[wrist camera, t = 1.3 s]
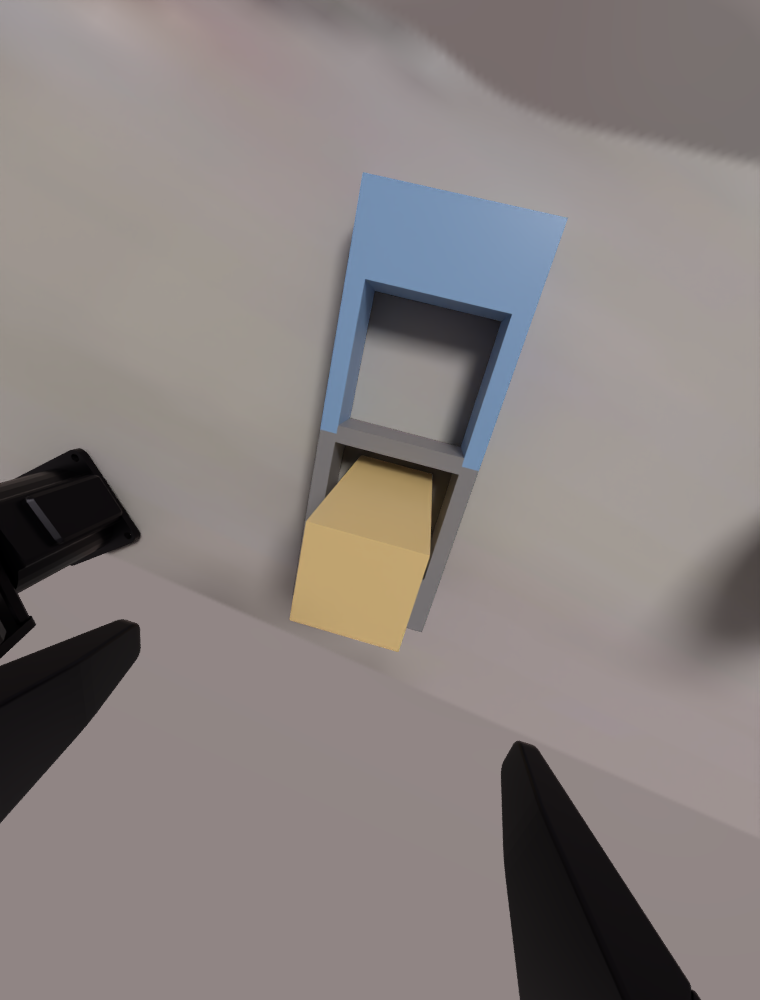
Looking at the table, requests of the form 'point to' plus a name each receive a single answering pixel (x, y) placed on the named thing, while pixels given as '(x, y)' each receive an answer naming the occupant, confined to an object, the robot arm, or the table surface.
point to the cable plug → (366, 553)
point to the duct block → (445, 283)
